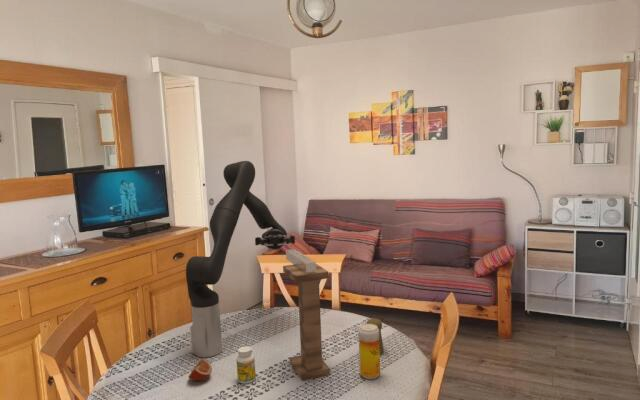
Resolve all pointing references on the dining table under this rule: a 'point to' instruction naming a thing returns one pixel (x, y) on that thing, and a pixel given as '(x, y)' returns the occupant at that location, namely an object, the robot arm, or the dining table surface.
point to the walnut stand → (309, 323)
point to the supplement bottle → (245, 365)
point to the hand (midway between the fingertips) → (275, 241)
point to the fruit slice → (201, 370)
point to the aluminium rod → (301, 261)
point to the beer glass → (369, 351)
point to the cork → (379, 325)
